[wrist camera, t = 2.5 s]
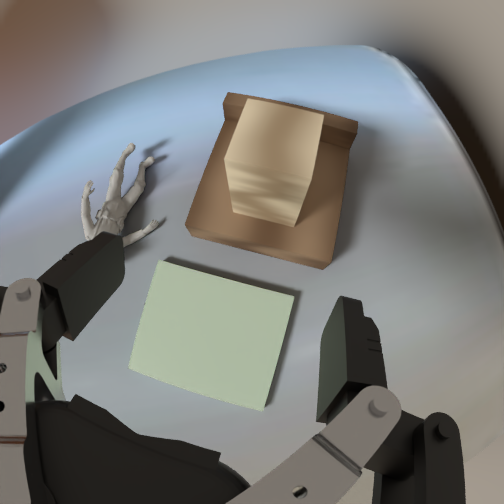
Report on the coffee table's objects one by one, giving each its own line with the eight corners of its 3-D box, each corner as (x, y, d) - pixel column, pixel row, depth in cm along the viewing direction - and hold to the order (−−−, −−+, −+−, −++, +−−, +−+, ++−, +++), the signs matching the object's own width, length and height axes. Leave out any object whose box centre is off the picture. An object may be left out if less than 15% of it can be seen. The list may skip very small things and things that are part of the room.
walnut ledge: (191, 236, 27) (177, 213, 21) (231, 127, 30) (227, 92, 25) (322, 269, 26) (339, 254, 21) (343, 153, 29) (358, 121, 24)
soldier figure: (179, 173, 30) (146, 276, 23) (154, 194, 33) (122, 289, 26) (118, 131, 25) (62, 231, 19) (99, 158, 28) (50, 252, 22)
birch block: (233, 212, 24) (224, 159, 16) (249, 161, 25) (247, 98, 18) (293, 227, 24) (311, 179, 16) (305, 174, 25) (324, 115, 17)
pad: (131, 367, 24) (127, 368, 23) (161, 261, 26) (158, 259, 25) (262, 408, 23) (262, 411, 22) (293, 297, 25) (294, 296, 25)
